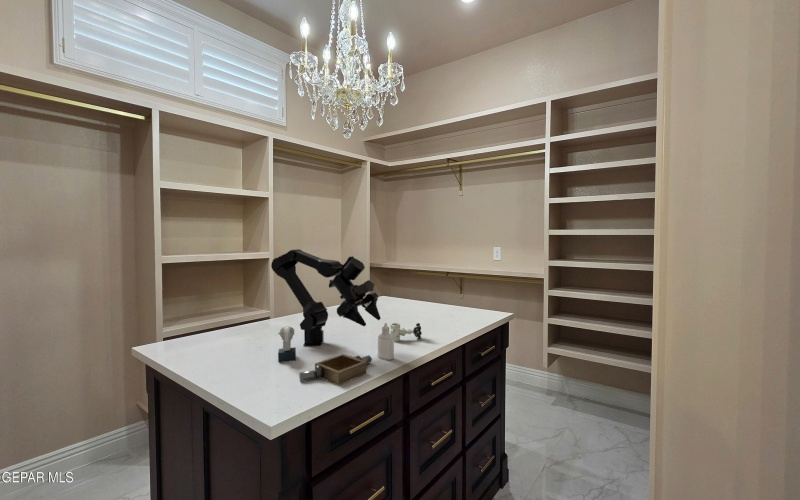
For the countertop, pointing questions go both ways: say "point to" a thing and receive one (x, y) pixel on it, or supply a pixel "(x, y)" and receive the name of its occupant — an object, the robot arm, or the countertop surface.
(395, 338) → the valve
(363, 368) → the square brown wooden tray
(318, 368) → the output shaft
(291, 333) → the rubber stamp
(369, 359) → the input shaft
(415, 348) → the countertop surface
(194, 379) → the countertop surface
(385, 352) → the white bottle
